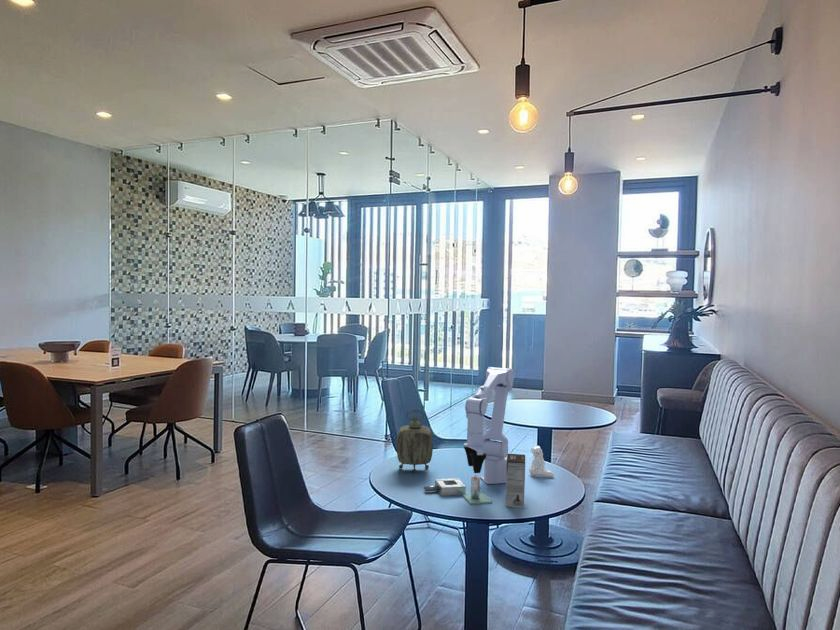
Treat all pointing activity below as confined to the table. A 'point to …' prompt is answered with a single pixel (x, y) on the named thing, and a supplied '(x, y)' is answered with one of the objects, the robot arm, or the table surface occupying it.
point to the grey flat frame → (447, 487)
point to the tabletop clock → (414, 443)
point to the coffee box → (515, 480)
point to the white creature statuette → (539, 464)
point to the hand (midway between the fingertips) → (474, 469)
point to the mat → (482, 499)
